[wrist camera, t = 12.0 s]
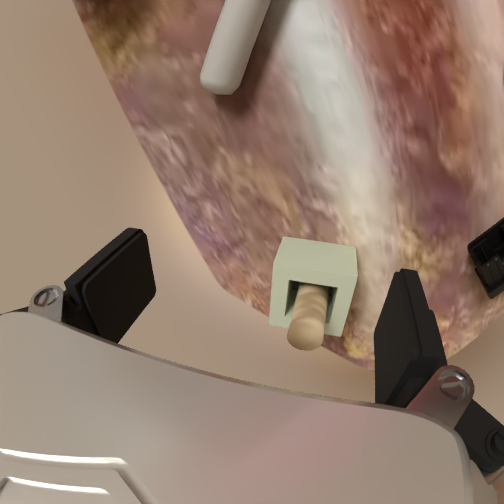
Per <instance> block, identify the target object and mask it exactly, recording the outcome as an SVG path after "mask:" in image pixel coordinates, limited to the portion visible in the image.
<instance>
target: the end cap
mask: <svg viewBox="0 0 504 504" xmlns="http://www.w3.org/2000/svg"><path fill="white" fill-rule="evenodd" d="M468 250H469V252H470V254H471V257H472V259H473V261H474V263H475V265H476V268H475V271H476V273H477V275H478V277H479V279H480V281H481V283H482V285H483V287H484V289H485V291H486V293H487V295H488V297H489V298H490V299H492V298H494V297H495V296H497V295H498V294H499V293H501V292H502V291H504V218H502V219H501V220H500V221H499V222H497V223H496V224H495V225H493V226H492V227H491V228H489V229H488V230H487V231H485V232H484V233H483V234H481V235H480V236H479V237H477V238H476V239H475V240H473V241H472V242H471V243H469V244H468Z"/></svg>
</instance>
